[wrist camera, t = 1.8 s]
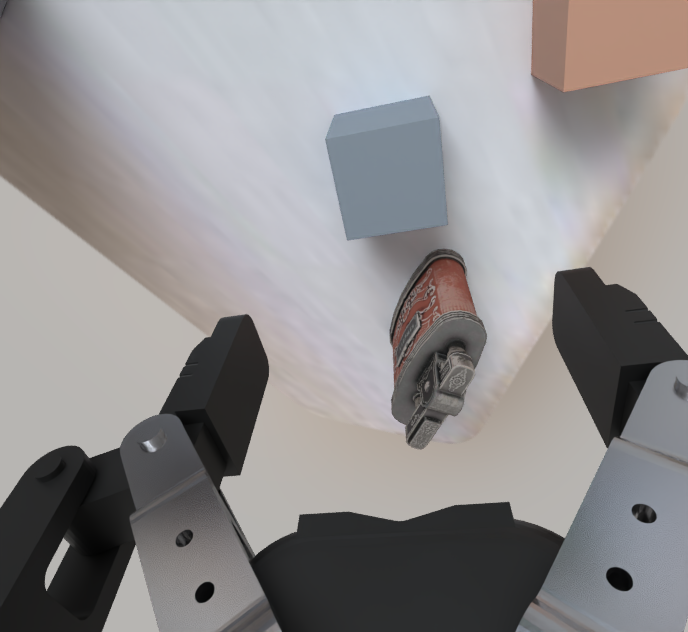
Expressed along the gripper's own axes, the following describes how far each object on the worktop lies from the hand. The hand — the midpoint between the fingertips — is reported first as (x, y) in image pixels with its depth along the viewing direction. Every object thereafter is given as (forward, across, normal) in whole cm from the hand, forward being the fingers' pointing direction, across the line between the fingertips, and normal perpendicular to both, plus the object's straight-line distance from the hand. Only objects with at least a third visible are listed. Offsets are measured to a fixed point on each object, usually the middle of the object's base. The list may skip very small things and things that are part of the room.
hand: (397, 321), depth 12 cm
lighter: (+16, -1, +10) cm, 19 cm away
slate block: (+16, 0, 0) cm, 16 cm away
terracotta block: (+16, -10, -5) cm, 20 cm away
